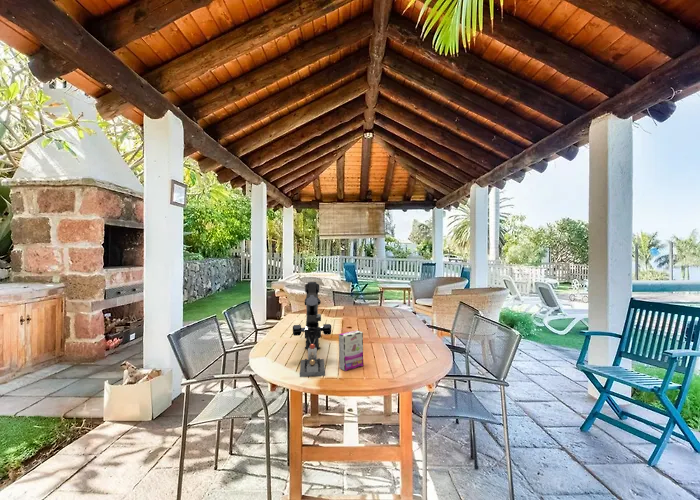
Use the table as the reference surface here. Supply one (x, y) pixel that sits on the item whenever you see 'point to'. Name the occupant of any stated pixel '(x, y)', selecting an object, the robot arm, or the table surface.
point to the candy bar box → (350, 350)
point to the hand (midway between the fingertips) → (312, 345)
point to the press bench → (303, 369)
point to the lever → (312, 353)
